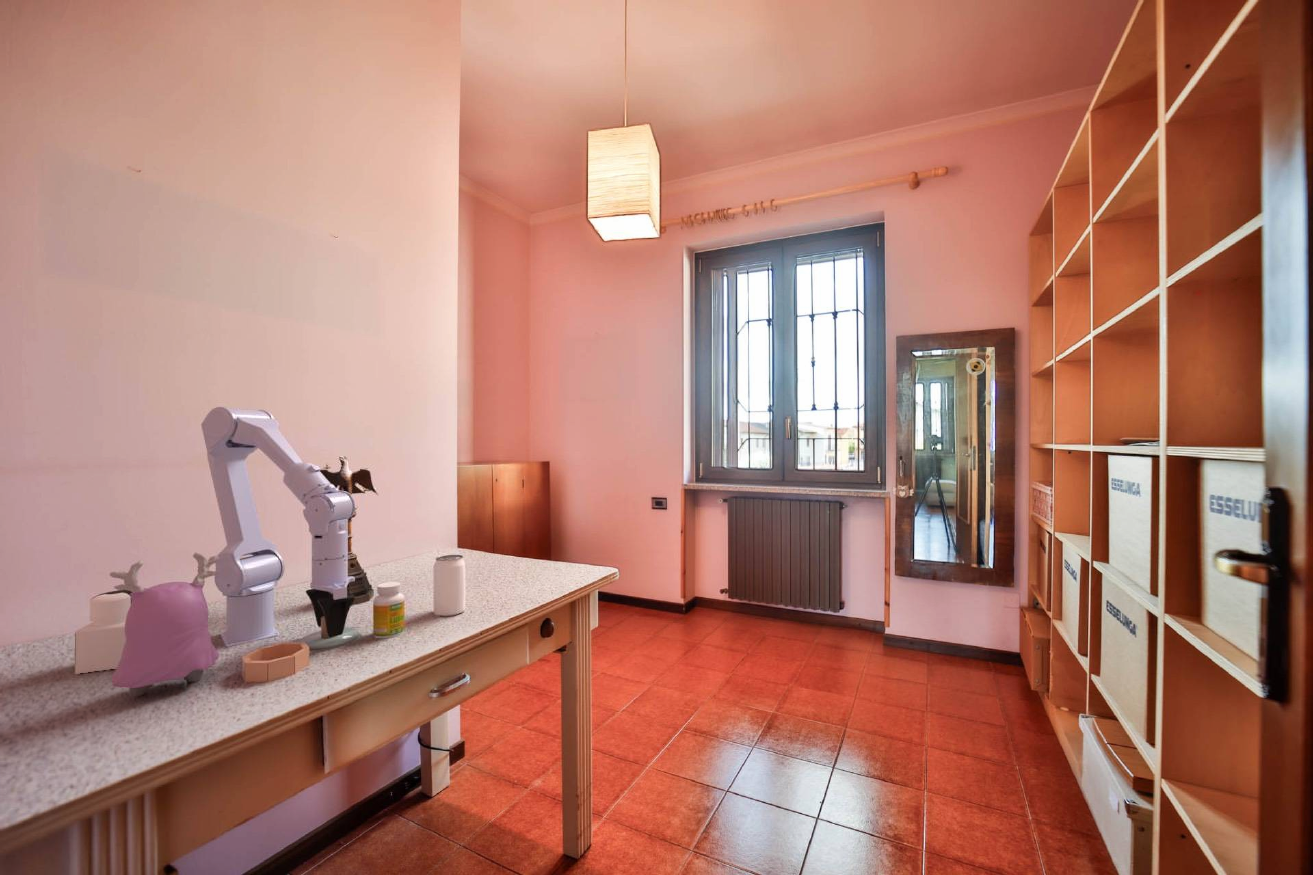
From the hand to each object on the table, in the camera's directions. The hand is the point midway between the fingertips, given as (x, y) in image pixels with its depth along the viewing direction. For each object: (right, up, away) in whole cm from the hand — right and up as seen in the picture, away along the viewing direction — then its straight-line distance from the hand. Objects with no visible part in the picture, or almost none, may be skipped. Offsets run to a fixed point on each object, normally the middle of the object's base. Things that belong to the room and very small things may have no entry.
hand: (329, 630), depth 97 cm
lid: (0, -2, 0) cm, 2 cm away
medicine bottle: (-31, -3, -9) cm, 32 cm away
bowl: (-1, -2, -13) cm, 13 cm away
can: (+16, -3, +17) cm, 23 cm away
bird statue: (-15, -3, +29) cm, 33 cm away
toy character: (-13, -2, -18) cm, 23 cm away
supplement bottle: (+9, -2, +4) cm, 10 cm away
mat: (0, -2, 0) cm, 2 cm away
